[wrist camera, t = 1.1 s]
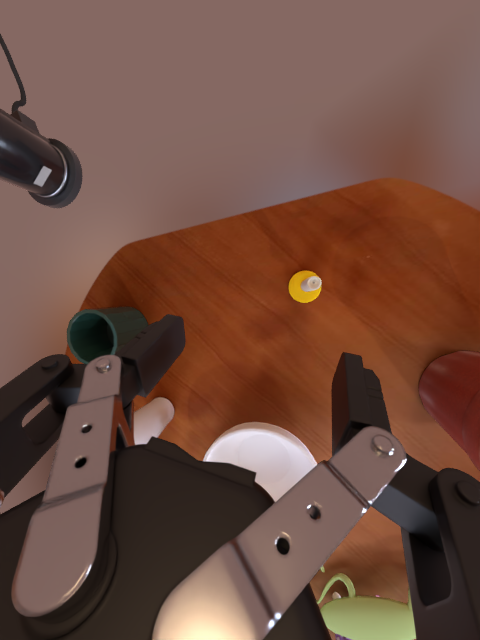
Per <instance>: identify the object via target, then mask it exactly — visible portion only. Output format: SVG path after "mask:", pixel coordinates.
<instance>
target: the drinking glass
mask: <svg viewBox="0 0 480 640" xmlns="http://www.w3.org/2000/svg"><path fill="white" fill-rule="evenodd" d="M173 416H174V407H173V405H172V403H171V402H170V401H169V400H168V399H166V398H163V397H158V398H155V399H153V400H152V401H151V402H149V403H148V404H146V405H145V406H143V407H142V408H140V409H138V410H137V411H135V412H134V442H135V445H138V444H147V443H148V441H149V440H150V438H151V437H152V436H153V437H156V438H158V437H159V435H160V434H161V432H162V431H163V430H164V428H165V427H166V426H167V424H168V423H169V422H170V421H171V420H172V418H173Z"/></svg>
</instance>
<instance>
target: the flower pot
mask: <svg viewBox="0 0 480 640" xmlns="http://www.w3.org/2000/svg"><path fill="white" fill-rule="evenodd" d="M419 395H420V397H421V400H422V403H423V405H424V408H425V409H426V411H427V412H428V413H429V414H430V415H431V416H432V417H433V418H434V419H435V420H436V421H437V422H438V423H439V425H440V426H441V427H442V428H443V429H444V430H445V431H446V432H447V433H448V434H449V435H450V436H451V437H452V438H453V439H454V440H455V441H456V442H457V443H458V445H459V446H460V447H461V448H462V449H463V450H464V451H465V452H466V453H467V454H468V455H469V457H470V459H471V461H472V462H473V464H474V465H475V466H476V467H477V469H478V470H479V471H480V352H475V351H457V352H454V353H451V354H448V355H445V356H441V357H439V358H437V359H436V360H434V361H433V362H432V363H431V364H430V365H429V366H428V367H427V368H426V369H425V371H424V373H423V374H422V377H421V379H420V382H419Z"/></svg>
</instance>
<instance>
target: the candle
mask: <svg viewBox="0 0 480 640" xmlns="http://www.w3.org/2000/svg"><path fill="white" fill-rule="evenodd" d="M320 291H321V279H320V278H319V277H318V276H317V275H316V274H315V273H313V272H310V271H300V272H298V273H296V274H295V275H294V276H293V277H292V278H291V280H290V282H289V293H290V295H291V296H292V297H293V299H295V300H296V301H298V302H302V303H307V302H311V301H313V300H314V299H315V298H317V296H318V295H319V294H320Z"/></svg>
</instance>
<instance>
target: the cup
mask: <svg viewBox="0 0 480 640" xmlns="http://www.w3.org/2000/svg"><path fill="white" fill-rule="evenodd" d="M147 326H148V323H147V321H146V319H145V317H144V316H143V314H142V313H141V312H140V311H138V310H137V309H135V308H133V307H128V306H124V307H122V306H119V307H107V308H94V309H85V310H82V311H80V312H78V313H76V315H74V317H73V318H72V319H71V320H70V322H69V325H68V328H67V342H68V345H69V347H70V350H71V352H72V353H73V355H74V356H75V357H76V358H77V359H78V360H79V361H80V362H82V363H84V364H88V363H90V362H91V361H92V360H94V359H95V358H98V357H100V356H104V355H115V354H116V353H117V352H118V351H119V350H120V349H122V348H123V347H124V346H125V345H126V344H127V343H128V342H130V341H131V340H132V339H133V338H135V336H136V335H138V334H139V333H141V331H142V330H143V329H144V328H146V327H147Z"/></svg>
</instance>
